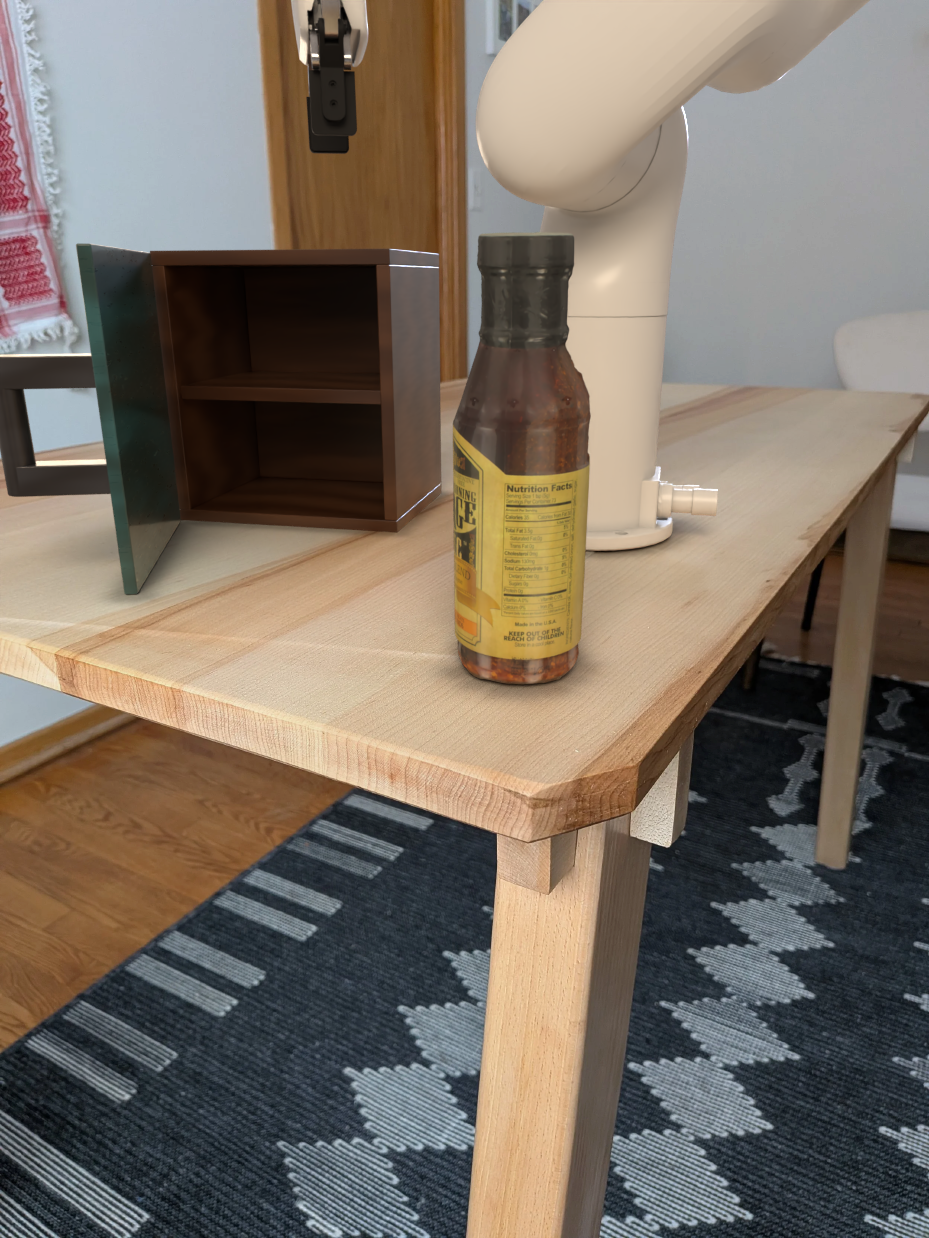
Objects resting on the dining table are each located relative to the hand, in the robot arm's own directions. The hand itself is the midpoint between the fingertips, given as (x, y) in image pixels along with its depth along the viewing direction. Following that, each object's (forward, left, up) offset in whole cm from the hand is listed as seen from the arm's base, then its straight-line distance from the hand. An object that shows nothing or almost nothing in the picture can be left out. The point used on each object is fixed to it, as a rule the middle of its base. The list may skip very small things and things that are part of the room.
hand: (331, 144), depth 70 cm
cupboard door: (+10, +20, -28) cm, 36 cm away
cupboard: (+2, +3, -28) cm, 28 cm away
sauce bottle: (-20, +33, -28) cm, 48 cm away
